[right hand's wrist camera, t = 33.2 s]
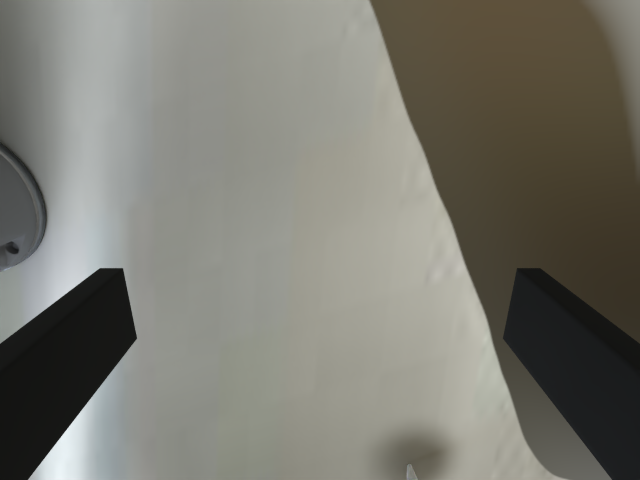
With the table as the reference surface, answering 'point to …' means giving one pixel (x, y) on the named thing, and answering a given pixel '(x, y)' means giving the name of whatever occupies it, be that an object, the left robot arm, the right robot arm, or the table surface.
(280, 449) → the table surface
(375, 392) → the table surface
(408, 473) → the mushroom
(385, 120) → the table surface
